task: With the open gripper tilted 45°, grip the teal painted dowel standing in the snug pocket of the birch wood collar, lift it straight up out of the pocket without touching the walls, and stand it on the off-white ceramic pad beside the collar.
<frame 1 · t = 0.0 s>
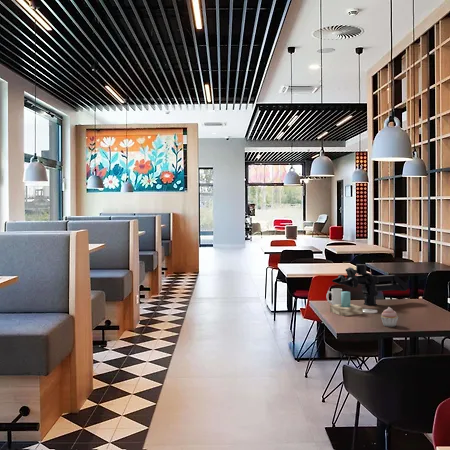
hand: (336, 281, 312), 17 cm above the table, tool horizontal, fingers open, 9 cm apart
mug: (334, 308, 312), on the table
pad: (368, 311, 296), on the table
pocket collar: (346, 312, 295), on the table
cupcake: (389, 326, 258), on the table
dowel: (345, 302, 295), in the pocket collar
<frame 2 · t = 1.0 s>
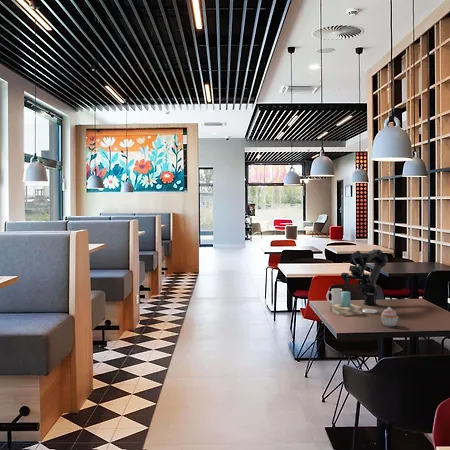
hand: (351, 288, 301), 14 cm above the table, tool tilted 45°, fingers open, 9 cm apart
nothing on the table moved.
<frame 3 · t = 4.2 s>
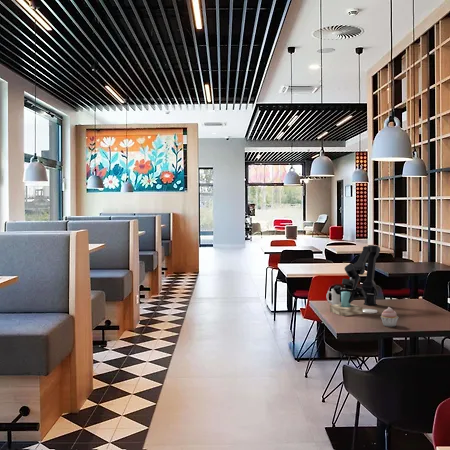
hand: (344, 302, 294), 7 cm above the table, tool tilted 45°, fingers closed on dowel, 5 cm apart
dowel: (345, 302, 295), in the pocket collar, touching gripper
everything else where it was.
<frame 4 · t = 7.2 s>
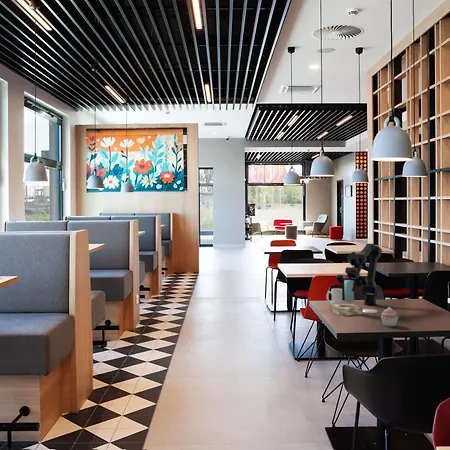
hand: (348, 290, 293), 13 cm above the table, tool tilted 45°, fingers closed on dowel, 5 cm apart
dowel: (349, 291, 295), point 13 cm above the table, touching gripper
everything else where it was.
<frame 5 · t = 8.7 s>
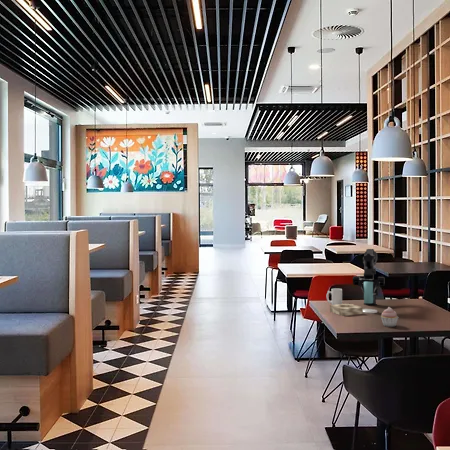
hand: (368, 292, 295), 12 cm above the table, tool tilted 45°, fingers closed on dowel, 5 cm apart
dowel: (368, 292, 296), point 12 cm above the table, touching gripper
everything else where it was.
when the fingers open (9 cm above the table, at t = 10.2 s): dowel drops 1 cm, resting on pad.
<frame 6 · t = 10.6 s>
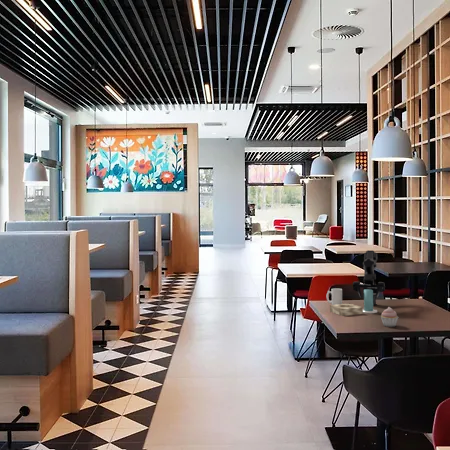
hand: (368, 297, 295), 9 cm above the table, tool tilted 45°, fingers open, 9 cm apart
dowel: (368, 300, 296), on the pad, point 7 cm above the table
everything else where it was.
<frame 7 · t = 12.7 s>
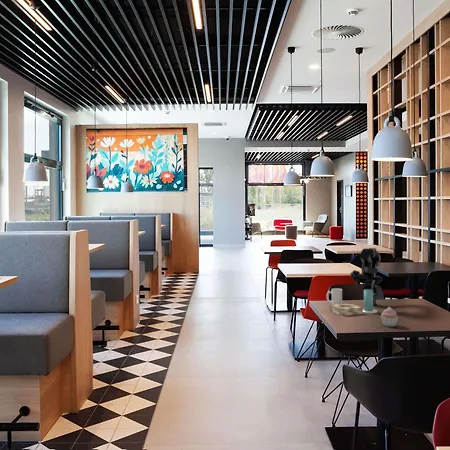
hand: (365, 289, 302), 13 cm above the table, tool tilted 30°, fingers open, 9 cm apart
nothing on the table moved.
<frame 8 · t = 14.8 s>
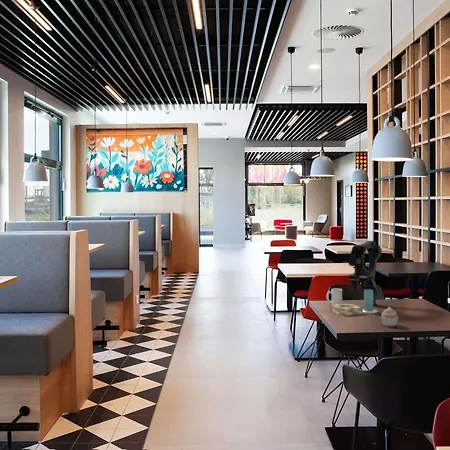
hand: (359, 289, 307), 12 cm above the table, tool pointing down, fingers open, 9 cm apart
nothing on the table moved.
at the end: dowel 0.1 cm off-centre on the pad, point 7.1 cm above the pad's base; dowel tilted 0°; the gripper is holding nothing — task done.
